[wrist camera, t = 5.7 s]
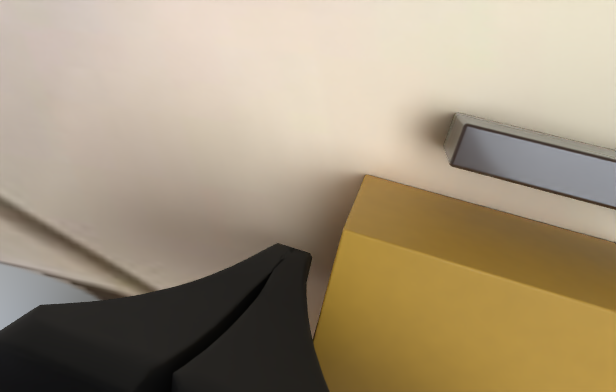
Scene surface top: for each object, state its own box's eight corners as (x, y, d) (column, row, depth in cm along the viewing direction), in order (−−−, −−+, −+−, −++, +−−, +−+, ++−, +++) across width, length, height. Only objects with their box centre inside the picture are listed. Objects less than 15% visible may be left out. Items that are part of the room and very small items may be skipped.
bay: (603, 515, 13) (635, 590, 11) (347, 415, 14) (337, 467, 12) (862, 209, 8) (986, 250, 7) (455, 111, 10) (464, 122, 8)
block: (516, 426, 13) (559, 576, 9) (315, 353, 14) (280, 459, 10) (625, 245, 10) (751, 352, 6) (365, 173, 11) (342, 228, 7)
